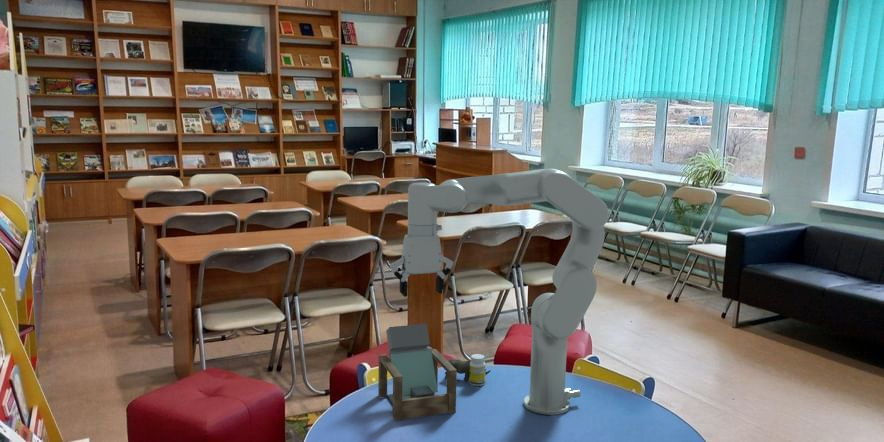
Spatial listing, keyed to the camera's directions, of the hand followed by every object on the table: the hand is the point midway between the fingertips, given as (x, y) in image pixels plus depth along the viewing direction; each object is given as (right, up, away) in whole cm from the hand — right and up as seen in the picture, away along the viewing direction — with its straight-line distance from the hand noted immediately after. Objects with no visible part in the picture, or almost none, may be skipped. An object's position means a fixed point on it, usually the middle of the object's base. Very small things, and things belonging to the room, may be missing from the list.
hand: (421, 293), depth 181 cm
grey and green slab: (-4, -20, +12) cm, 24 cm away
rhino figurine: (+13, -29, +26) cm, 41 cm away
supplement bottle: (+16, -29, +23) cm, 40 cm away
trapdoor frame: (-2, -31, +8) cm, 32 cm away
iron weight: (-1, -28, +6) cm, 29 cm away
